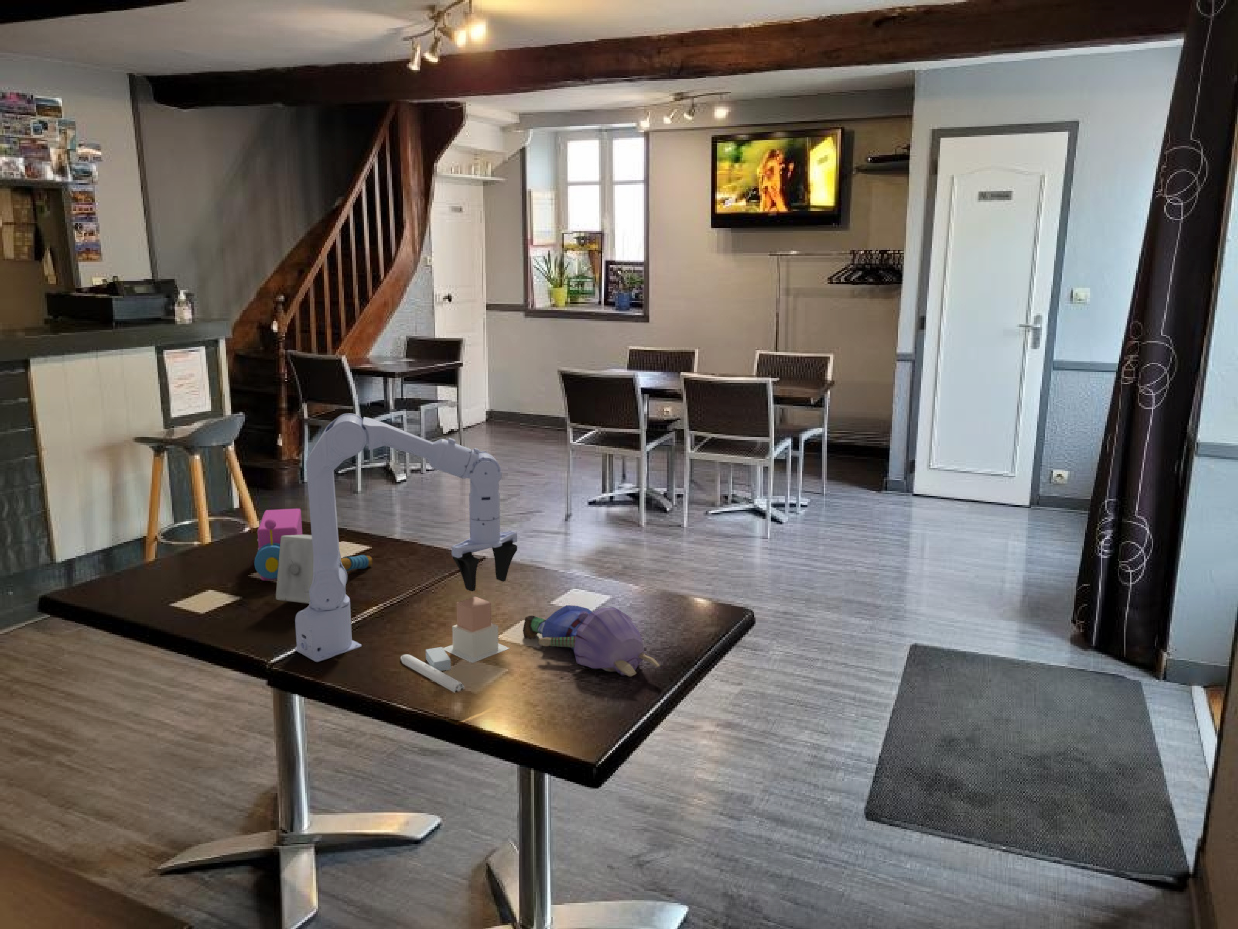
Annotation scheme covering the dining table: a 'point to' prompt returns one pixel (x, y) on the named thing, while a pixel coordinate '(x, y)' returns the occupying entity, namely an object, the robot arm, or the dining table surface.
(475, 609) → the top block
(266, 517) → the toy
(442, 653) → the brick
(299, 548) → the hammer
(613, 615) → the toy
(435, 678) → the marker
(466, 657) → the plate
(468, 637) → the base block
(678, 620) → the dining table surface
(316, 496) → the robot arm
